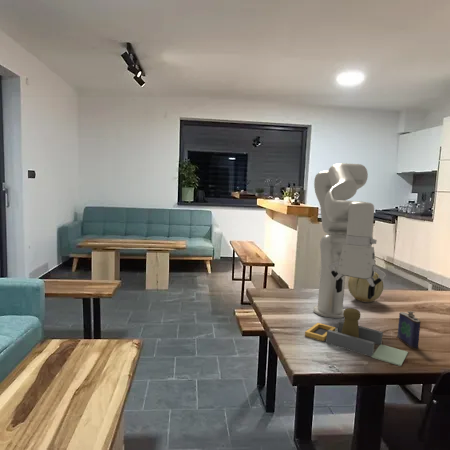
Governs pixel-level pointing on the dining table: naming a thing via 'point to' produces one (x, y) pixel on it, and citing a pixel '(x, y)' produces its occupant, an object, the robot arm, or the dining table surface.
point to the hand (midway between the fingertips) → (354, 294)
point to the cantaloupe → (364, 288)
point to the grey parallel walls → (355, 339)
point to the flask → (409, 329)
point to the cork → (351, 322)
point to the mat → (390, 355)
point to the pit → (319, 331)
